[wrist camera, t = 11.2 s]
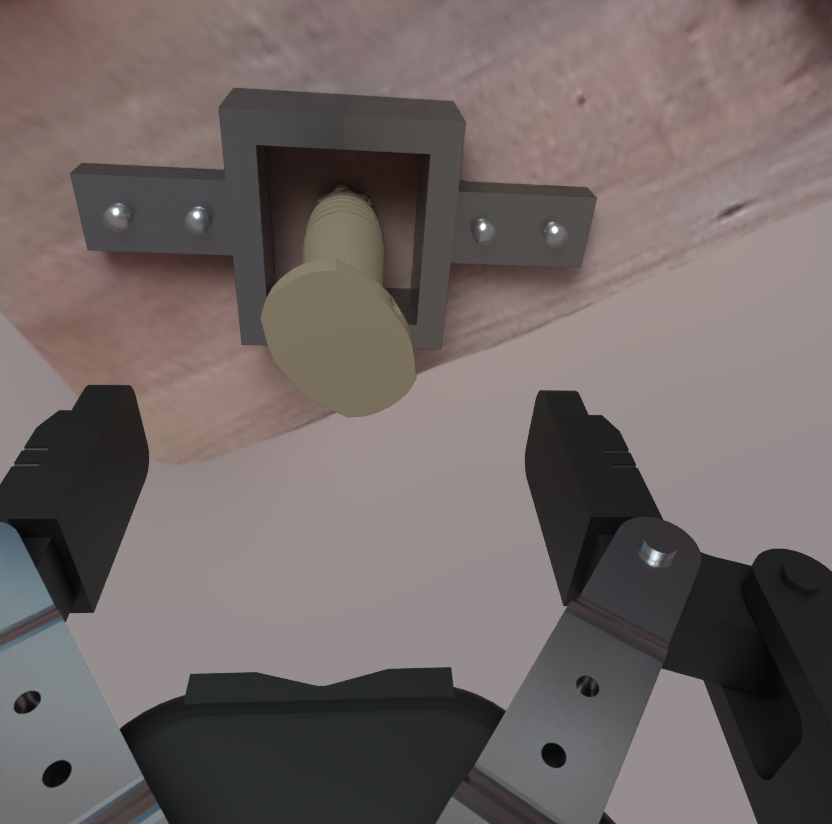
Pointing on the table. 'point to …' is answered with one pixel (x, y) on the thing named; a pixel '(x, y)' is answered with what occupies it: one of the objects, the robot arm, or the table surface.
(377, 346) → the handle
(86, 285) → the table surface
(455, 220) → the bracket
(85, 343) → the table surface
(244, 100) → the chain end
